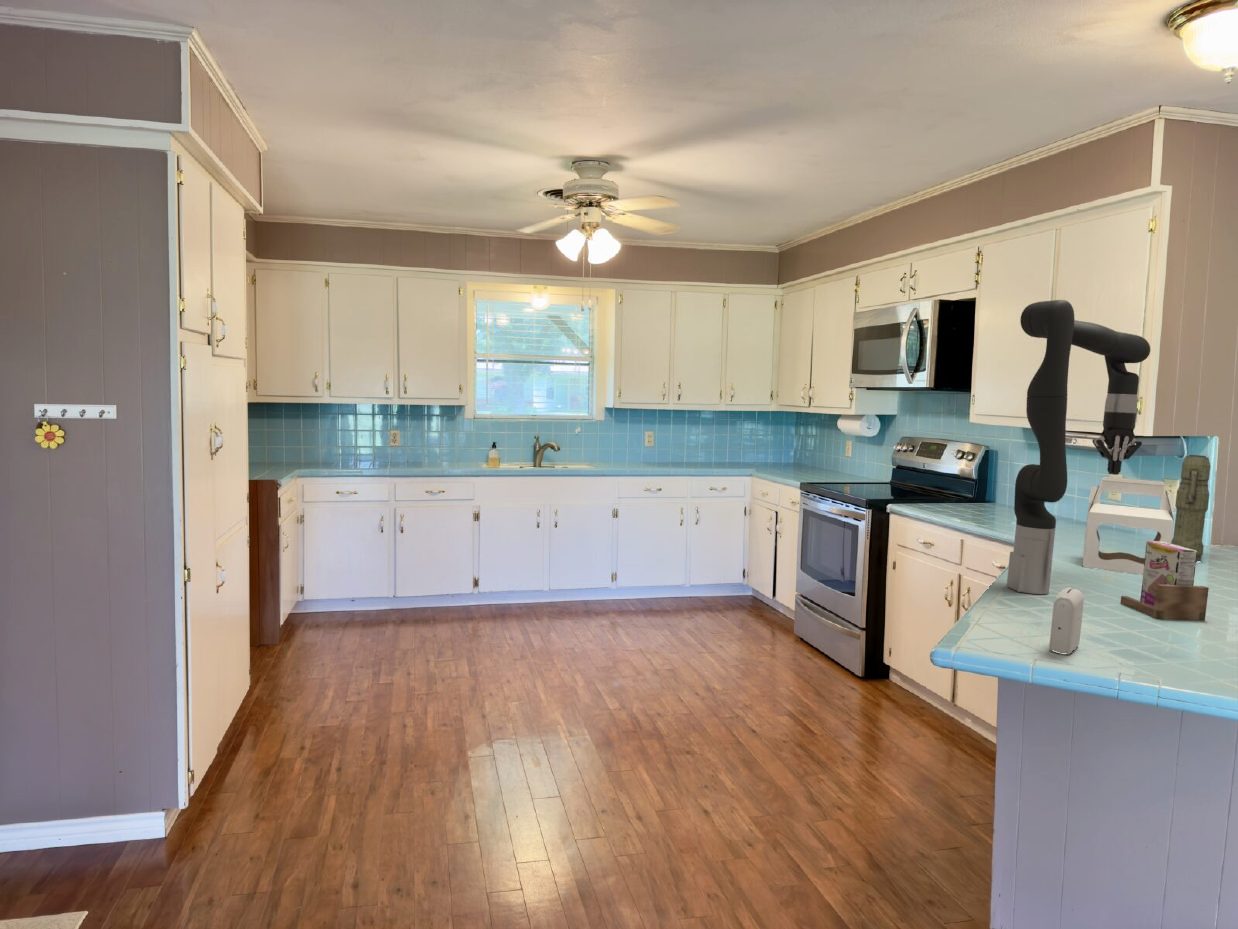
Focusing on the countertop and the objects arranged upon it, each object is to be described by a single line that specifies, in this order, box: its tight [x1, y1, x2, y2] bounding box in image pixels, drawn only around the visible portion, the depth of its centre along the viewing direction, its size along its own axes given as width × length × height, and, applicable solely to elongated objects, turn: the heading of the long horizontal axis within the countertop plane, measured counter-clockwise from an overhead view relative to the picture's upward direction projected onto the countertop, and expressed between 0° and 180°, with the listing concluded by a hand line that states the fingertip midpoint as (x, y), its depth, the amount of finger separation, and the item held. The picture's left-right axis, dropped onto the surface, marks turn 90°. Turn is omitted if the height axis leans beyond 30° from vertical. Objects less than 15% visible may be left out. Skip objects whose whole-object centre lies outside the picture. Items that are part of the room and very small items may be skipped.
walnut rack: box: [1120, 584, 1210, 622], centre depth 198 cm, size 12×14×8 cm
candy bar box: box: [1139, 540, 1197, 607], centre depth 199 cm, size 11×5×16 cm, turn 4°
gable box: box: [1082, 476, 1175, 576], centre depth 249 cm, size 22×13×28 cm, turn 60°
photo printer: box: [1048, 587, 1085, 655], centre depth 164 cm, size 10×4×12 cm, turn 140°
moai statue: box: [1171, 454, 1211, 562], centre depth 268 cm, size 9×12×35 cm
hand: (1113, 474), depth 223 cm, fingers closed
